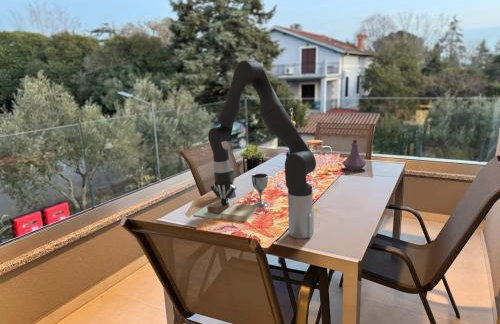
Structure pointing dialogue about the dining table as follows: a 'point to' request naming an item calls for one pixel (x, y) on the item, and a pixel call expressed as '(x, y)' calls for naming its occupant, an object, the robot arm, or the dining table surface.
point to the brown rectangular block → (217, 207)
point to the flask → (354, 159)
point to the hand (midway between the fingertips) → (224, 205)
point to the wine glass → (260, 186)
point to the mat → (207, 213)
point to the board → (239, 212)
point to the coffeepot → (232, 182)
